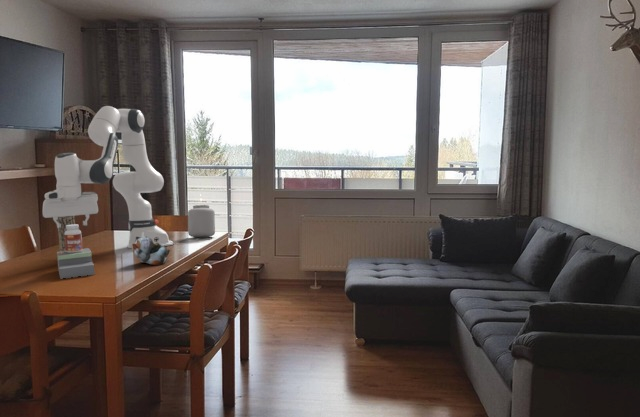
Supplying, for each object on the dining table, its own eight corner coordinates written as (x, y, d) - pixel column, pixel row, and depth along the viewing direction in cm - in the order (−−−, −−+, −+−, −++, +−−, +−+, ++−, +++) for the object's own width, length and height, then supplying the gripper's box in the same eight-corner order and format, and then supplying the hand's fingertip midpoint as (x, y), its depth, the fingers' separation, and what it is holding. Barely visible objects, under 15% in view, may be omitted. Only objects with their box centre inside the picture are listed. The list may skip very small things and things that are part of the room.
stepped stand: (90, 266, 204) (88, 247, 203) (94, 274, 189) (93, 254, 188) (58, 270, 198) (56, 250, 197) (60, 279, 183) (58, 258, 182)
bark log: (81, 261, 214) (77, 206, 211) (69, 264, 208) (64, 208, 205) (70, 260, 216) (65, 206, 214) (57, 263, 210) (52, 207, 207)
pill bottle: (66, 253, 191) (64, 226, 190) (65, 251, 196) (62, 224, 195) (83, 251, 195) (81, 225, 193) (81, 249, 200) (79, 223, 199)
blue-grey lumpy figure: (163, 265, 202) (145, 239, 197) (140, 276, 204) (121, 250, 199) (174, 249, 216) (157, 224, 211) (152, 259, 218) (134, 234, 213)
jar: (191, 235, 280) (189, 193, 277) (217, 234, 282) (215, 192, 279) (186, 240, 262) (184, 195, 259) (214, 239, 263) (212, 194, 261)
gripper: (96, 190, 201) (99, 223, 203) (40, 194, 190) (43, 228, 192) (98, 191, 195) (101, 224, 197) (40, 195, 185) (44, 230, 187)
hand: (72, 226), depth 195 cm, fingers open, 8 cm apart
